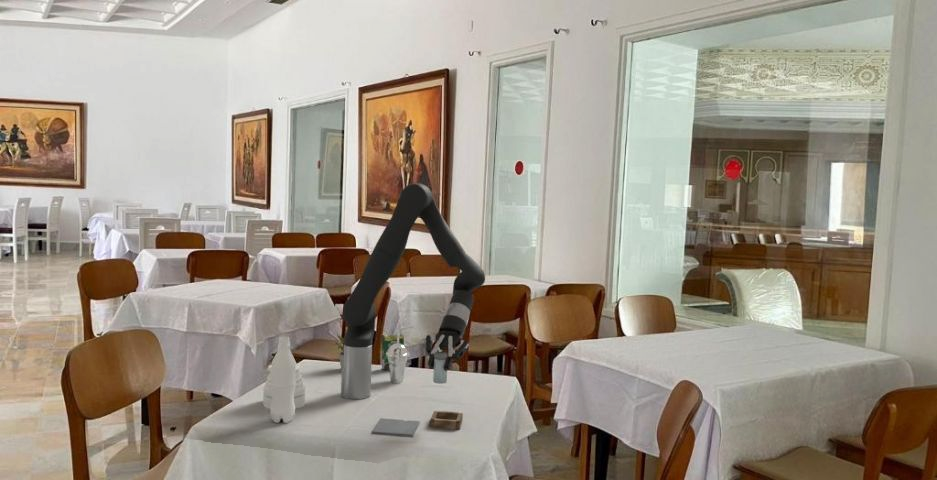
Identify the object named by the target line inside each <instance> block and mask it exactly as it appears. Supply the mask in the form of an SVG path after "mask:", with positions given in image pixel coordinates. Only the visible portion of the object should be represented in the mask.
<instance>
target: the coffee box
mask: <svg viewBox="0 0 937 480" xmlns="http://www.w3.org/2000/svg"><path fill="white" fill-rule="evenodd" d="M381 339H382V341H381V342H382V343H381V370H383V371H390V370H389V361H388V356H387V355H386V352H387V351H388V350H389V348H390V346H391V345H393V344H395V343H397V334H391V335H390V334H389V335H387V334H386V335H382V338H381ZM399 343H401V344H403V345H404V346H405V336H404V334H402V333H399Z"/></svg>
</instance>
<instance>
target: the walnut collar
mask: <svg viewBox="0 0 937 480" xmlns="http://www.w3.org/2000/svg"><path fill="white" fill-rule="evenodd" d="M463 416H464V415H463V412H458V411H447V410H437V411H436V410H434V411H433V413H432V414H431V417H430V423H429V424H430V425H429V427H430V428H434V429H439V430H440V429H441V430H442V429H444V430H454V431H455V430H461V427H462V424H463Z"/></svg>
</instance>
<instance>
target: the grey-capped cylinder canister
mask: <svg viewBox="0 0 937 480" xmlns="http://www.w3.org/2000/svg"><path fill="white" fill-rule="evenodd" d="M448 356H449V352H443V351H442V352H436V353H434V367H433V378H432V379H433V380H432V382H433V383H434V384H441V385H442V384H446V383H447V381H448V380H447V379H448V371H445V370H444V364H445V362H446V359H447V357H448Z"/></svg>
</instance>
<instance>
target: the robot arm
mask: <svg viewBox="0 0 937 480" xmlns="http://www.w3.org/2000/svg"><path fill="white" fill-rule="evenodd" d="M440 211H441V210H440V209H439V207H438V206H437V203H436V201H435V198H434V197H433V194H432V191H431V189H430V188H429V186H427V185H425V184H423V183H419V182H415V183H410V184H408V185H406V186H405V187H404V188H403V189H402V190H401V192H400V195H399V198H398V200H397V203H396V206H395V207H394V210H393V213H392V215H391V218H390V220H389V221H388V223H387V225H386V226H385V228H384V229H383V231H382V232H381V235H380V236H379V238H378V240H377V242H376V243H375V245H374V248H373V250H372V252H371V254H370V255H369V258H368V261H367V262H366V264H365V267H364V269H363V271H362V274H361V277H360V279H359V281H358V283H357V284H356V286H355V287H354V289H353V291H352V292H351V294H350V296H349V297H348V299H346V301H345V303H344V305H343V307H342V314H341V315H342V318H343V320H344V322H345V323H346V324H347V328H348V329H347V332H346V335H345V334H344V338H343V340H344V346H343V347H344V365H343V368H342V370H341V377H340V379H341V383H340V387H341V388H340V397H341V398H346V399H350V400H351V399H353V400H359V399H360V400H363V399H367V398H369V397H371V392H372V390H371V389H372V363H373V361H372V359H373V340H374V339H373V338H374V335H375V329H376V328H375V327H376V305H375V303H374V302H375V301H376V298H377V296H378V294H379V292H380V291H381V289H382V288H383V287H384V285H385V284H386V283H387V282H388V280H389V279H390V278H391V277H392V275H393V274H394V272H395V270H396V269H397V267H398V265H399V263H400V261H401V259H402V258H403V255H404V253H405V250H406V246H407V244H408V240H409V237H410V232H411V230H412V228H413V226H414V224H415V223H416V221H417V219H418V218H420V219H421V221H422V222H423V223H424V225H425V226H426V228H427V230H428V232H429V234H430V236H431V240H432V241H433V243H434V245H435V247H436V249H437V250H438V253H439V254H440V256H441V257H442V258H443V260H444V261H445V263H446V265H447V266H448V267H449V268H453V269H454V268H457V269H459V271H461V272H460V273H458V274H457V275H456V277H455V279H454V280H453V286H452V287H453V288H452V297H451V299H450V301H449V304H448V307H447V308H446V310H445V313H444V315H443V318H442V320H441V323H440V326H439V328H438V332H437V333H436V334H435V335H434V336H433V335H432V336H431V335H430V334H427V335H426V337H425V340H426V341H425V351H426V354H427V355H428V356H429V358H428V360H427V365H428V367H429V369H433V370H434V353H436V352H443V351H448V357H447V359H446V362H445V364H444V370H445V371H447V372H448V371H449V370H450V369H451V367H452V364H453V361H454V360H455V361H456V360H457V361H459V360H461V359H462V357H463V356H464V354H465V353H466V352H467V350H468V349H469V348H470V344H469V341H468V340H467V339H465V340H464V339H463V337H464V334H465V331H466V328H467V326H468V323H469V319H470V314H471V310H472V308H473V305H474V302H475V301H474V300H475V299H474V295H473V294H472V293H473V291H475V290H476V289H478V288H480V287H482V286H483V285H484V284H485V282H486V275H485V272H484V269H483V268H482V267H481V266H480V264H478V263H477V262H476V261H475V260H474V258H472V257H471V256H470V255H469V254H467V252H466V251H465V250H464V247H462V245H461V243H460V242H459V241H458V238H457V237H456V236H455V234H454V232H453V231H452V230H451V228H450V227H449V225H448V224H447V222H446V220H445V219H444V217H443V215H442V213H441V212H440ZM435 341H436V343H435ZM434 343H435V344H434ZM433 344H434V347H433ZM457 347H458V348H457ZM456 348H457V350H456Z"/></svg>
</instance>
